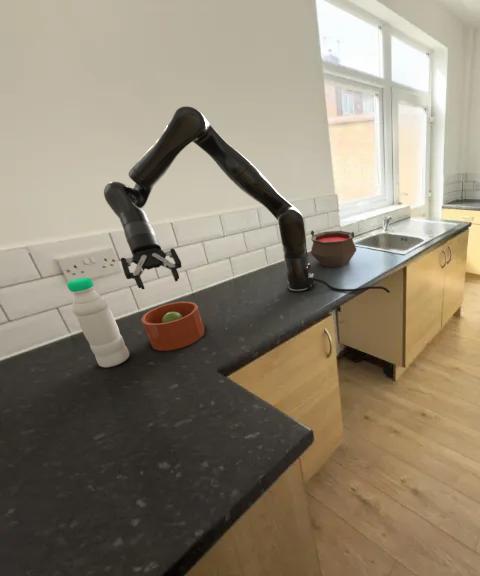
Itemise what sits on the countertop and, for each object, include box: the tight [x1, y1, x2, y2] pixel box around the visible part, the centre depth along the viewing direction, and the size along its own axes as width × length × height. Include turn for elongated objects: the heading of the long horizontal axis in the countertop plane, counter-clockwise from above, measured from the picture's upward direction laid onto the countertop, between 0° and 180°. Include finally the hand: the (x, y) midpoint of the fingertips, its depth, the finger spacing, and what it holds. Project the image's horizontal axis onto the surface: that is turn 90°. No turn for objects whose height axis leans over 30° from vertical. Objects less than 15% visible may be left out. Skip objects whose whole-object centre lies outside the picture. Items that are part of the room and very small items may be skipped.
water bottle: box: [66, 276, 130, 368], centre depth 85 cm, size 7×7×25 cm
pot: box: [140, 301, 205, 352], centre depth 99 cm, size 15×15×9 cm
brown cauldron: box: [310, 229, 357, 268], centre depth 158 cm, size 24×24×16 cm
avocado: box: [162, 312, 183, 323], centre depth 99 cm, size 6×6×8 cm
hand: (160, 284), depth 95 cm, fingers open, 8 cm apart
